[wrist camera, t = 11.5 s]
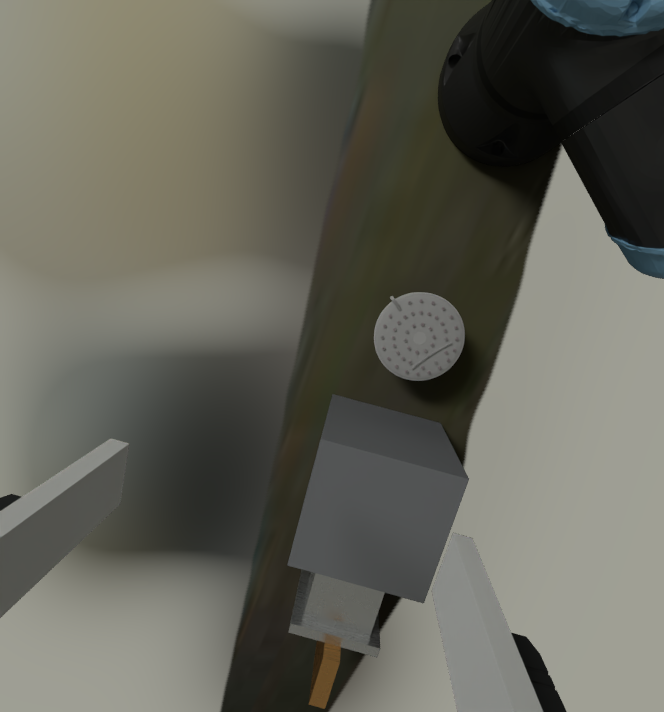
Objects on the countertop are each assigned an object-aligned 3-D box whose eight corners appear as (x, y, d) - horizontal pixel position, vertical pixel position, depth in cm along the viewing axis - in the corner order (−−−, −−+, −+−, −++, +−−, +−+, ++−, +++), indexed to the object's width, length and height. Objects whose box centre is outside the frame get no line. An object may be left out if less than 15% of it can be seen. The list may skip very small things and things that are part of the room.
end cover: (324, 489, 49) (314, 544, 39) (403, 511, 49) (413, 571, 39) (289, 615, 54) (272, 693, 44) (362, 636, 53) (361, 719, 43)
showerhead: (431, 269, 40) (485, 350, 41) (421, 269, 47) (467, 339, 48) (353, 323, 42) (407, 400, 43) (354, 316, 49) (401, 382, 50)
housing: (332, 394, 51) (321, 438, 37) (440, 423, 50) (468, 479, 37) (306, 490, 54) (287, 565, 40) (408, 518, 54) (423, 603, 40)
